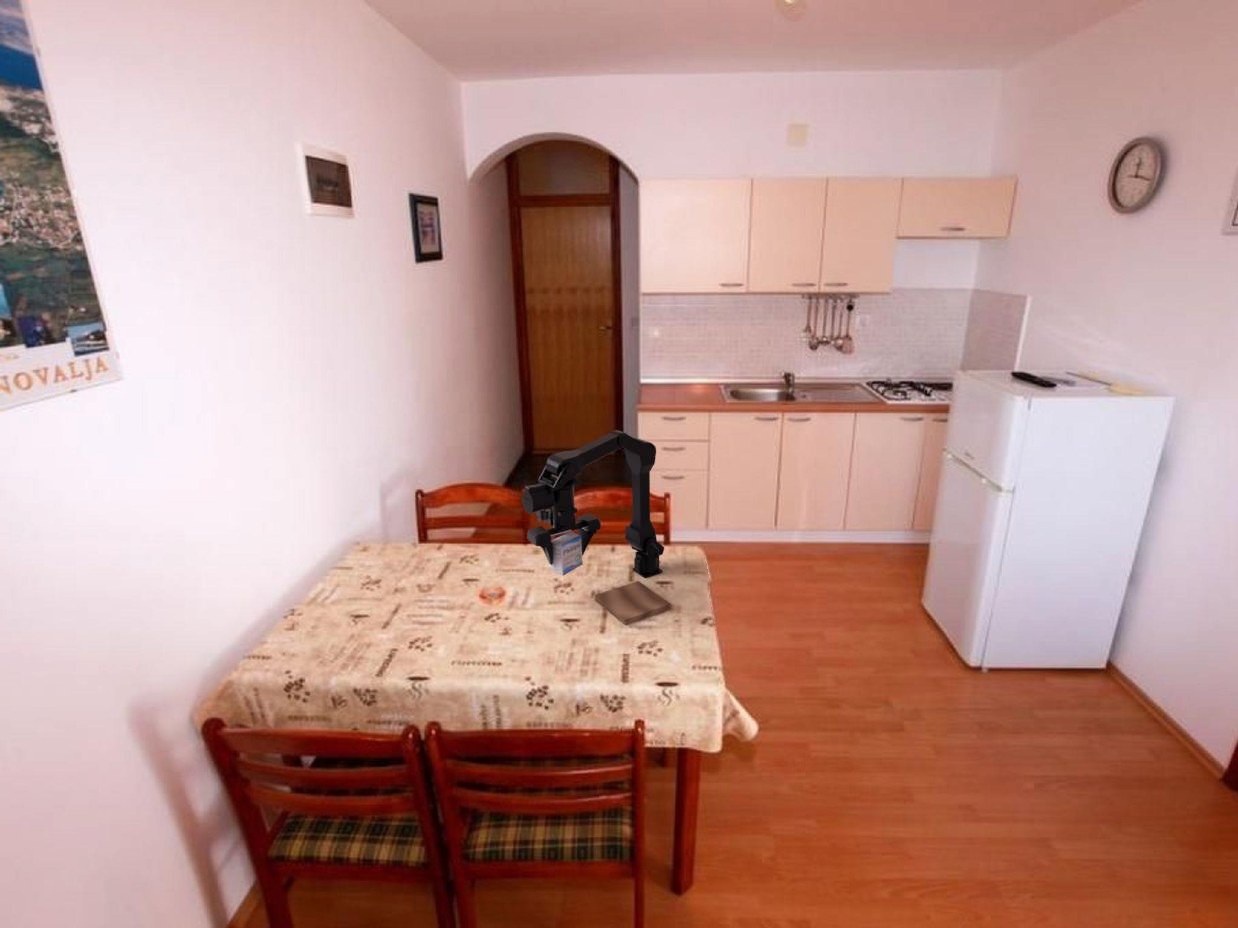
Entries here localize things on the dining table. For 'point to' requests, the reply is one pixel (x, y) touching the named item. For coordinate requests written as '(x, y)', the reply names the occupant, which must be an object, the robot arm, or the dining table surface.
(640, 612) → the walnut board
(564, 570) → the medicine box
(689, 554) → the dining table surface
